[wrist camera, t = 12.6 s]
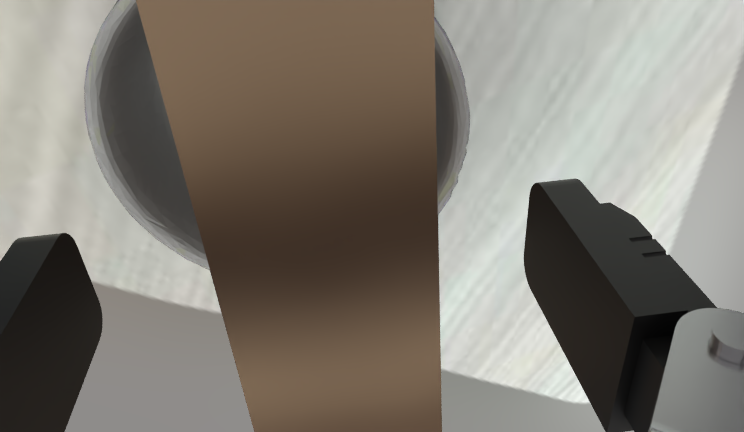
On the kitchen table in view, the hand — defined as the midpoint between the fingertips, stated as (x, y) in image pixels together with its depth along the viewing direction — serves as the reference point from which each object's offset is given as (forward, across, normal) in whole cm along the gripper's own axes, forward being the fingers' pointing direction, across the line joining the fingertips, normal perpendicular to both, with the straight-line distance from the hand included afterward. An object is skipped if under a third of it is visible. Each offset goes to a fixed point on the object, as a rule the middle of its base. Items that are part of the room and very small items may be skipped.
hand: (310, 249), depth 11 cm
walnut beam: (+7, 0, 0) cm, 7 cm away
